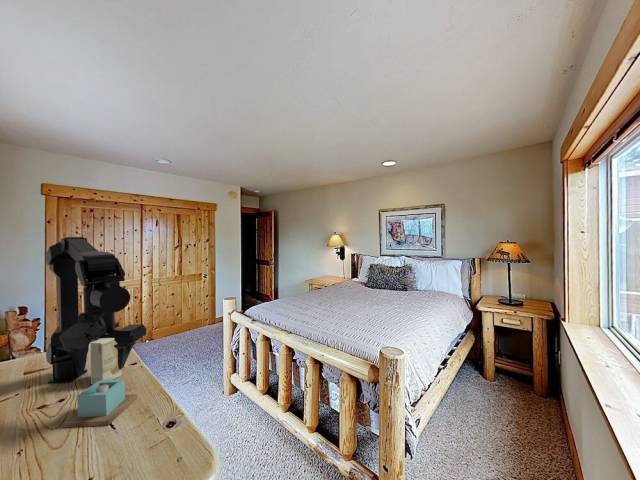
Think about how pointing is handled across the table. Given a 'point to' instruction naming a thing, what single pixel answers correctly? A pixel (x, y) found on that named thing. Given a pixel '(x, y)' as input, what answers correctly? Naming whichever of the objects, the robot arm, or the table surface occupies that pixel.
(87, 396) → the collar
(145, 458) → the table surface
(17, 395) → the table surface
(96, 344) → the skincare box
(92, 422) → the post plate
